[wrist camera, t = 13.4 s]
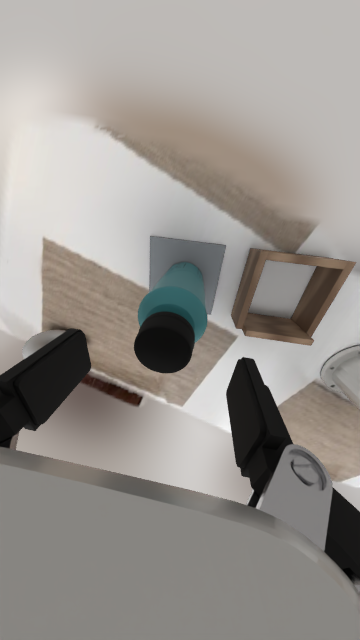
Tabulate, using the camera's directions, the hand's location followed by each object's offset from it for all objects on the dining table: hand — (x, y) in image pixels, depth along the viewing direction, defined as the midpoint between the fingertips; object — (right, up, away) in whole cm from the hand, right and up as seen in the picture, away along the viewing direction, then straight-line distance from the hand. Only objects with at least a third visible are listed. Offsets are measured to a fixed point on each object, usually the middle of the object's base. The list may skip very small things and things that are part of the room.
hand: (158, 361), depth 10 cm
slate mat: (+2, +10, +19) cm, 22 cm away
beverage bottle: (+2, +10, +18) cm, 21 cm away
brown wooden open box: (+18, +8, +18) cm, 27 cm away
